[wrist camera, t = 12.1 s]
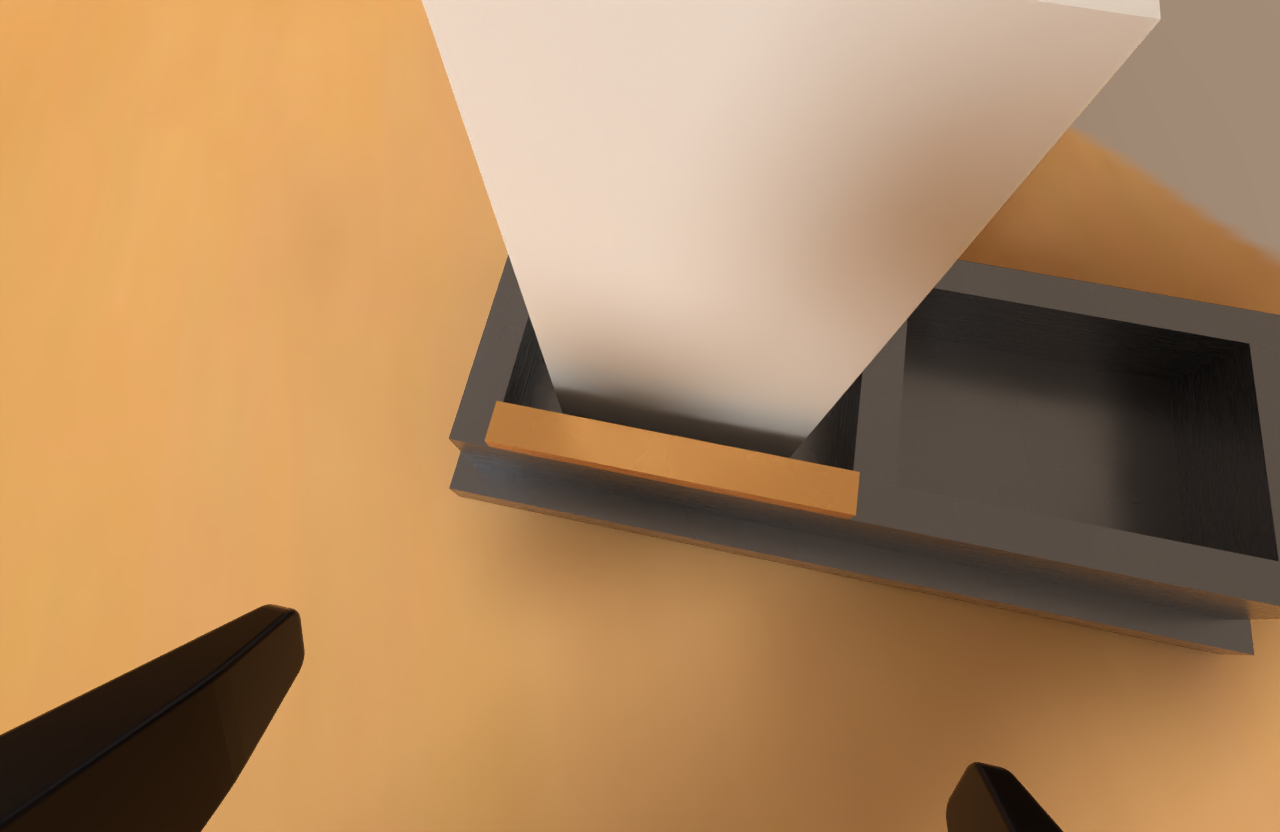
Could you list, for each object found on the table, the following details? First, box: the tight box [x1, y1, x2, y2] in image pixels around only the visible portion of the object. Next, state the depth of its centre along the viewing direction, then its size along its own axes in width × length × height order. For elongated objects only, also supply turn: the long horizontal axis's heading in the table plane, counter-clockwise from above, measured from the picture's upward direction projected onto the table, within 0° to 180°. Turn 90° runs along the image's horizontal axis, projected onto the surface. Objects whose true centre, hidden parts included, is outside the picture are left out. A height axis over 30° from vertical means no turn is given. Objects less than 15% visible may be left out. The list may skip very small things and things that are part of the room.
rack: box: [449, 255, 1280, 655], centre depth 17 cm, size 9×21×4 cm, turn 78°
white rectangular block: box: [422, 0, 1161, 458], centre depth 12 cm, size 4×6×13 cm, turn 78°
